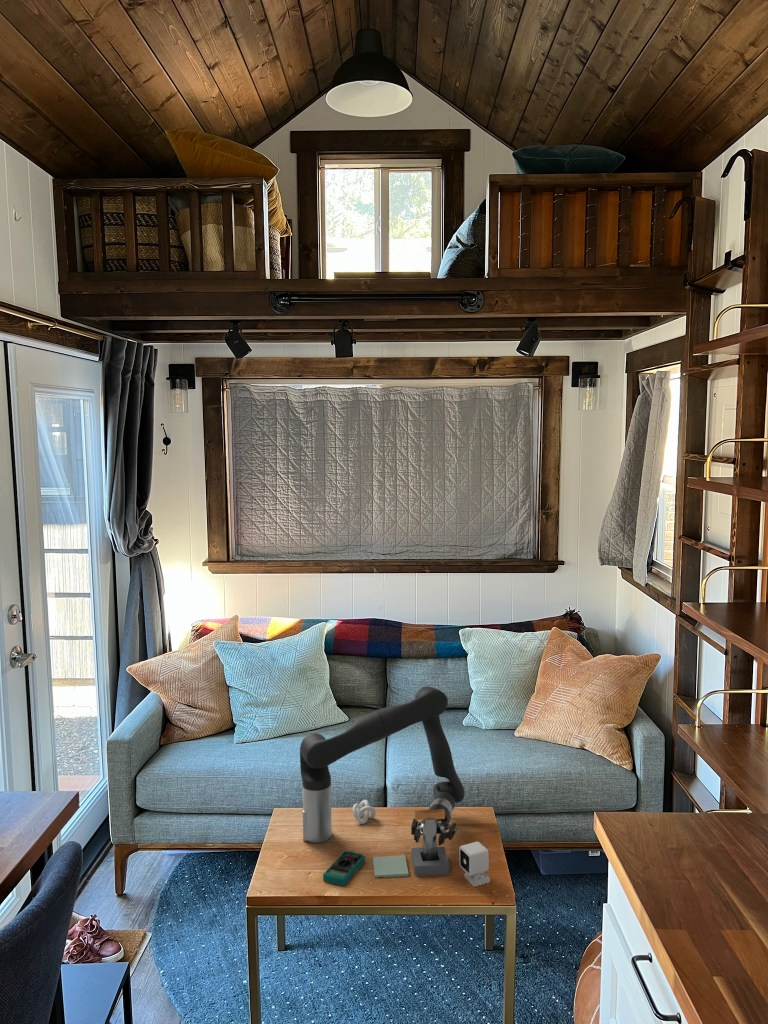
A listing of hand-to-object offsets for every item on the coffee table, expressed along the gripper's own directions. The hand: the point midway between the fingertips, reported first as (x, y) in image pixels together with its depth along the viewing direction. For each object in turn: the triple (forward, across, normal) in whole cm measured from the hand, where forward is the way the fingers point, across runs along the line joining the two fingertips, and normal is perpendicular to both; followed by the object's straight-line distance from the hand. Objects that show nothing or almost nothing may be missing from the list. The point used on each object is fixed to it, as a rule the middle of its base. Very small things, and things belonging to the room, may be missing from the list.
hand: (428, 840), depth 223 cm
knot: (-24, -28, +9) cm, 38 cm away
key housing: (-2, 0, +9) cm, 9 cm away
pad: (+2, -11, +9) cm, 15 cm away
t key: (-2, 0, +9) cm, 9 cm away
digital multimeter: (+7, -24, +10) cm, 27 cm away
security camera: (+2, +14, +9) cm, 17 cm away
